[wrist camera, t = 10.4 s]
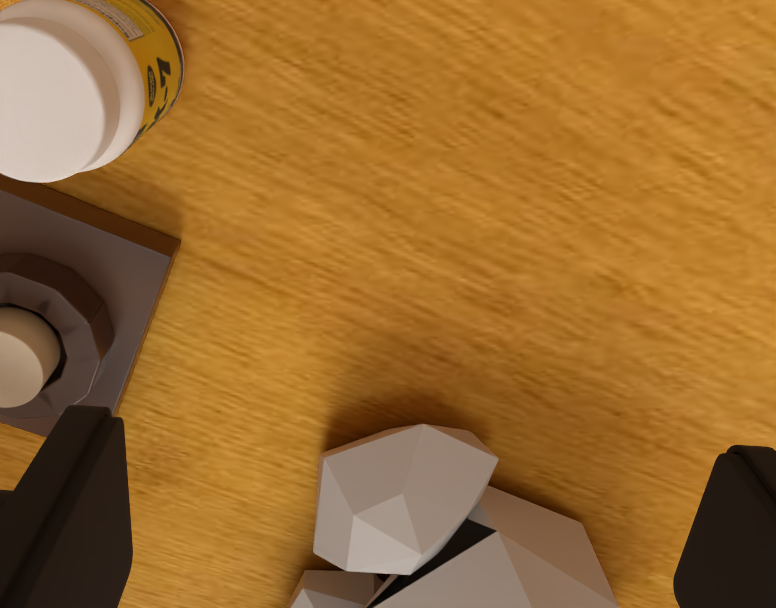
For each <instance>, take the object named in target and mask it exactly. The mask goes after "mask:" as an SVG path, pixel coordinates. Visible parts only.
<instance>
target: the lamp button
mask: <svg viewBox="0 0 776 608" xmlns="http://www.w3.org/2000/svg"><path fill="white" fill-rule="evenodd" d="M59 360H60V344H59V341H58V338H57V336H56V334H55V333H54V331H53V330H52V328H51V327H50V326H49V325H48V324H47V323H46V322H45V321H44V320H43V319H41V318H40V317H38V316H37V315H35V314H33V313H31V312H29V311H26V310H23V309H19V308H13V307H1V308H0V407H2V408H9V407H16V406H20V405H23V404H25V403H27V402H29V401H30V400H32V399H33V398H34V397H35V396H36V395H37V394H38V393H39V391H40V390H41V388H42V387H43V386H44V384H45V383H46V381H47V380H48V378H49V377H50V376H51V374H52V373H53V371H54V370H55V368H56V367H57V365H58V363H59Z"/></svg>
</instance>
